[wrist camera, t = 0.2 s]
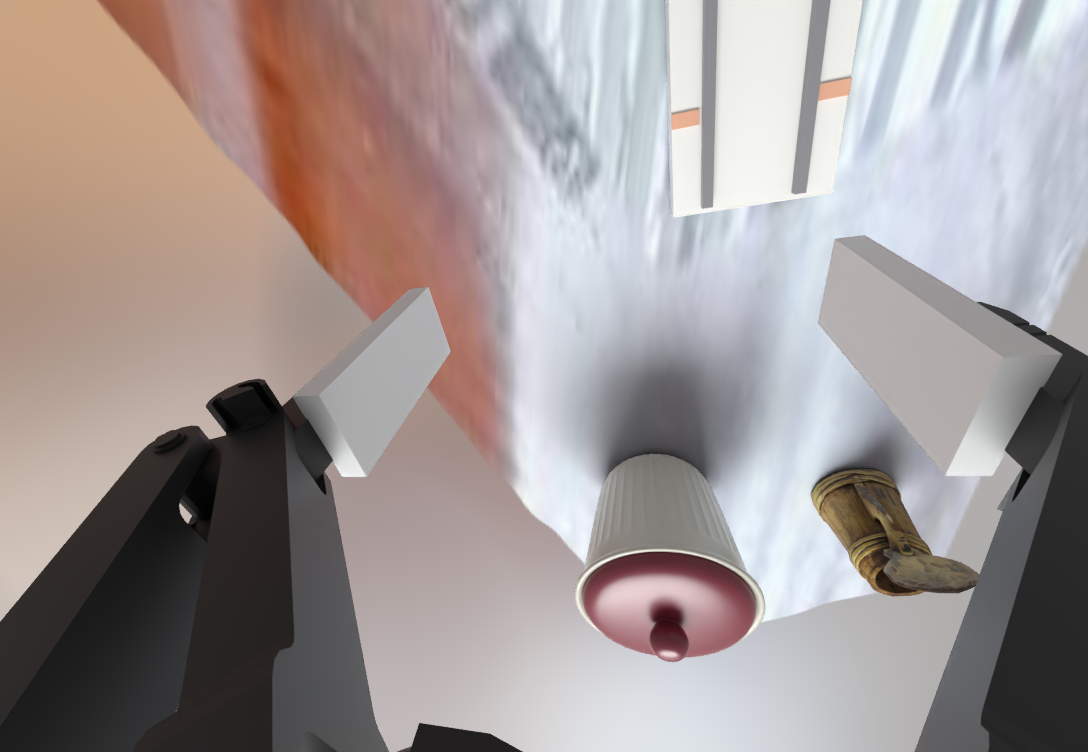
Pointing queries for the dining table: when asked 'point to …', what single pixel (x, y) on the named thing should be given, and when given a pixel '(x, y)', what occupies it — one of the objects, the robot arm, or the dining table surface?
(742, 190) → the fader console
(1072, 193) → the dining table surface
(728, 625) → the canister
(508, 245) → the dining table surface
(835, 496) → the wooden mug
